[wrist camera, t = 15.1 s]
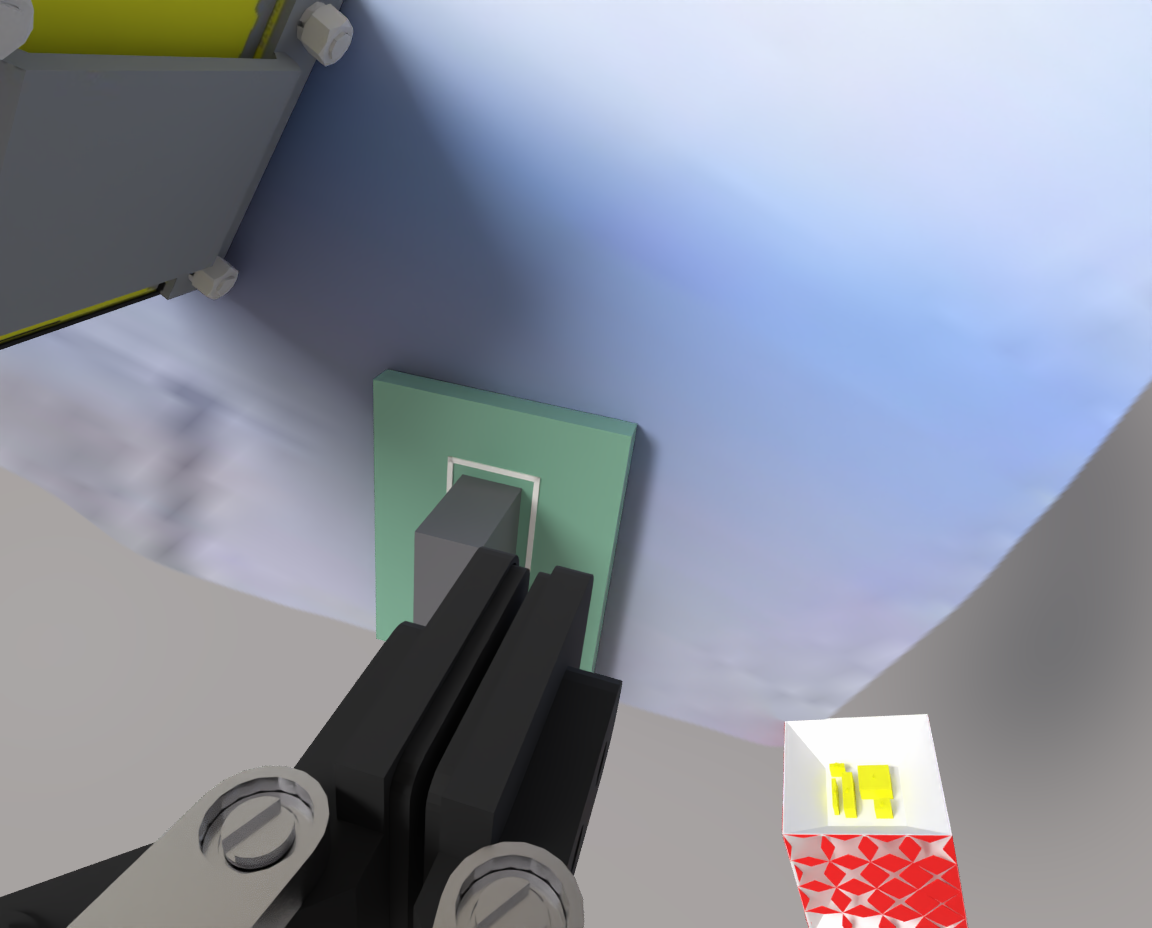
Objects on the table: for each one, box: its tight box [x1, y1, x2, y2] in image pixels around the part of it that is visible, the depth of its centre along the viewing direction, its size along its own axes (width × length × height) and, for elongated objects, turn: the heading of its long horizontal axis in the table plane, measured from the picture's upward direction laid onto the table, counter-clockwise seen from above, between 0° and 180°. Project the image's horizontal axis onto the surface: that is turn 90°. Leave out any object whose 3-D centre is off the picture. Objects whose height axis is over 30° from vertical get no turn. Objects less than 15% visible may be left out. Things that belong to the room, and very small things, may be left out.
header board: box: [373, 369, 637, 673], centre depth 42 cm, size 14×18×5 cm
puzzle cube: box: [782, 714, 968, 928], centre depth 42 cm, size 8×8×8 cm
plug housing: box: [413, 474, 522, 626], centre depth 41 cm, size 3×9×6 cm, turn 173°
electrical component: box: [0, 0, 353, 350], centre depth 29 cm, size 18×10×20 cm, turn 142°
